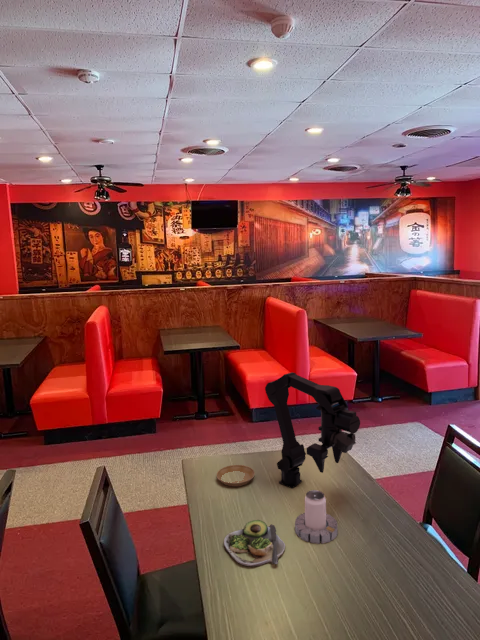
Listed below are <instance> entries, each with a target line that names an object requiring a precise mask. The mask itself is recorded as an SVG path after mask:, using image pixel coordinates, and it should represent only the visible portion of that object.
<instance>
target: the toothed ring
mask: <svg viewBox="0 0 480 640" xmlns="http://www.w3.org/2000/svg"><path fill="white" fill-rule="evenodd" d="M294 532H295V534H296V535H297V537H298V538H300V540H302V541H305V542H307V543H309V542H310V544H317V545H318V544H319V545H320V544H325V543H326V544H327V543H330V542H331V541H333V540H334V539H336V538H337V537H338V520H337V519H335V517H333V516H332V515H331V514H330V513H329V514H328V513H326V528H325V529H323V530H319V531H318V530H311V529H309V528H307V527H306V526H305V512H303V513H300V514H298V516H297V517H296V518H295V521H294Z"/></svg>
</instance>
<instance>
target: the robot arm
mask: <svg viewBox="0 0 480 640" xmlns="http://www.w3.org/2000/svg"><path fill="white" fill-rule="evenodd" d="M290 388H292V389H293V388H294V389H295V390H297V391H300V392H302V393H304V394H306V395H308V396H311V397H312V398H313V400H314V401H315V402H316V403H317V404H319V405H317V406H316V407H315V409H316V410H318V411H320V414H321V415H320V416H321V417H320V425H319V426H318V431H320V437H318V442H320V443H321V444H318V443H315V442H314V443H312V444H311V445H309V446H307V447H306V451H305V446H304V444H303V443H302V444H301V443H300V442H298V440H297V437H296V434H295V429H294V425H293V422H292V417H291V413H290V410H289V404H288V400H289V396H290V394H289V393H290V392H289V390H290ZM264 390H265V394H266V397H267V399H268V401H269V402H270V403H271V404H272V405H273V407H274V412H275V415H276V419H277V422H278V426H279V431H280V436H281V438H282V443H283V444H282V449H281V450H280V451H281V459H280V460H278V462H276V467H277V469H278V470H280V471H281V472H280V473H281V474H280V475H281V479H280V480H279V481H278V483H279V484H281V485H283V486H285V487H289V488H290V489H294V488H295V487H297V486H298V485H300V484H301V483H302V482H303V480H302V479H301V472H300V467H301V466H303V463H304V462H305V461H306V455H308V456H310V457H312V459H313V461H314V463H315V465H316V467H317V469H318V471H319V473H321V474H323V473H324V470H325V461H326V459H327V458H328V457H329V455H328V454H329V449H332V455H333V459H334V461H335V463H336V464H339V463H340V459H341V457H342V453H344V454H347V453H348V452H350V451H352V449H353V447H354V445H356V444H357V442H356V434H355V433H357V432H358V431H359V429H360V427H361V420H360V417H359V416H358V415H357V412H356V411H353V410H348V408H349V406H348V404H347V402H346V401H345V399H344V397H343V395H342V393H341V389H339V388H338V387H337V386H333V385H327V384H318V383H316V382H314V381H312V380H309V379H308V378H305V377H303V376H300V375H298V374H297V373H295V372H292V371H291V372H289V373H288V372H287V373H285V374H283V375H282V376H281V377H279V378H278V379H275V380H273V381H270V382H267V383H266V386H265V387H264Z"/></svg>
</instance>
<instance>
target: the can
mask: <svg viewBox="0 0 480 640" xmlns="http://www.w3.org/2000/svg"><path fill="white" fill-rule="evenodd" d="M326 501H327V499H326V497H325V493H324V492H323V491H321V490H317V489H311V490H308V491H307V492H306V493H305V497H304V513H305V526H306V527H307V528H309V529H311V530H318V531H319V530H323V529H325V528H327V527H326V514H327V502H326Z"/></svg>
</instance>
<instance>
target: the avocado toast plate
mask: <svg viewBox="0 0 480 640" xmlns="http://www.w3.org/2000/svg"><path fill="white" fill-rule="evenodd" d="M243 527H244V528H242V529H238V530H234V531H232V532H229V533H227V535H225V536H224V539H223V546H224V549H225V551H227V553H228V554H229V555H230V556H231V558H232V559H234V560H235V561H236V562H237V563H238V564H240V565H243V566H245V567H246V566H247V567H259V566H263V565H265V564H268V563H271V564H272V565H277V564H279V557H280V556H281V555H283V554H284V552H285V549H286V544H285V542H284V540H282V539H281V538H280V536H279V535H278V534H277V533H276V532H277V530H276V529H277V528H276V526H275V525H274V524H269V526H268V525H267V523H266V522H264V521H263V520H260V519H253V520H250V521H248V522H246V523H245V525H244V526H243ZM246 553H249V554H251V555H252V556H253V557H254V558H255V559H253V560H246V559H243V558H241V557H240V556H239V555H238V554H246Z"/></svg>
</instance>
